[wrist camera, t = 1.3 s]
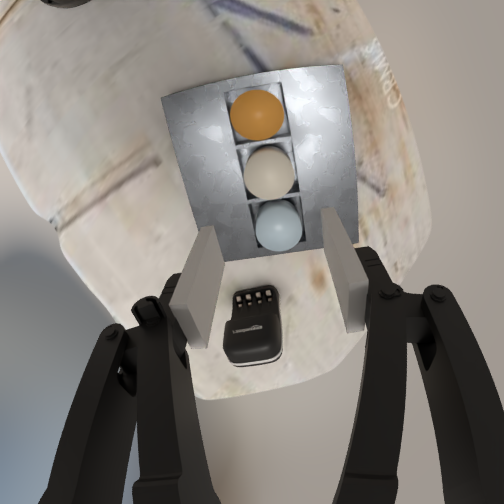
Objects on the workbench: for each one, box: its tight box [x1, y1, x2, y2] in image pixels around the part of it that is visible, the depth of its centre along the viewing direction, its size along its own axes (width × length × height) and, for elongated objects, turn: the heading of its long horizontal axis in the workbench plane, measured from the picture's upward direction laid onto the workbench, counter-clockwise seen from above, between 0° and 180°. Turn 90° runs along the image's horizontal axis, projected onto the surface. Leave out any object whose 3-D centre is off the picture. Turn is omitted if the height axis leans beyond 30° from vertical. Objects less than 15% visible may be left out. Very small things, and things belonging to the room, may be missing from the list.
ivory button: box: [244, 146, 295, 200], centre depth 28 cm, size 5×5×3 cm
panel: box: [161, 65, 359, 262], centre depth 29 cm, size 20×18×3 cm
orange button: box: [230, 90, 284, 140], centre depth 24 cm, size 5×5×3 cm
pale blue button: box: [256, 199, 302, 251], centre depth 31 cm, size 5×5×3 cm
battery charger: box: [223, 286, 283, 367], centre depth 36 cm, size 7×4×11 cm, turn 107°
